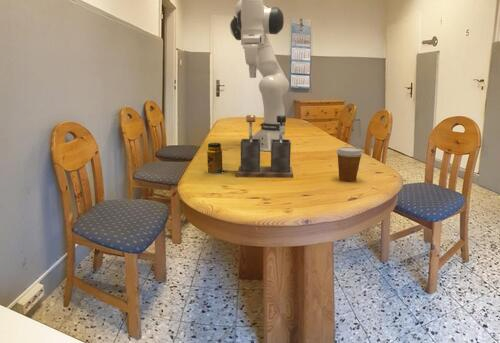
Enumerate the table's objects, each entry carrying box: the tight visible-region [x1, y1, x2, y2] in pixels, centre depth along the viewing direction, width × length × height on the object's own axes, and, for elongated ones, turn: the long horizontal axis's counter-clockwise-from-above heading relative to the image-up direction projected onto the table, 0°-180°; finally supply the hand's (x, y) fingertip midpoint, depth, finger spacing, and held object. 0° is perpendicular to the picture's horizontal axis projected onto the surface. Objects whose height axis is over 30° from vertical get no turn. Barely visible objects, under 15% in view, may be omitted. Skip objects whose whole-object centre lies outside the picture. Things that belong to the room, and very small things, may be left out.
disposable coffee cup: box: [336, 146, 363, 183], centre depth 142 cm, size 10×10×12 cm
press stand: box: [236, 138, 294, 179], centre depth 150 cm, size 22×12×14 cm, turn 87°
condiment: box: [206, 142, 229, 176], centre depth 153 cm, size 7×8×12 cm
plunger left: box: [245, 114, 256, 142], centre depth 148 cm, size 5×5×12 cm
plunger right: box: [277, 115, 287, 142], centre depth 147 cm, size 5×5×12 cm
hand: (253, 77), depth 144 cm, fingers open, 8 cm apart
